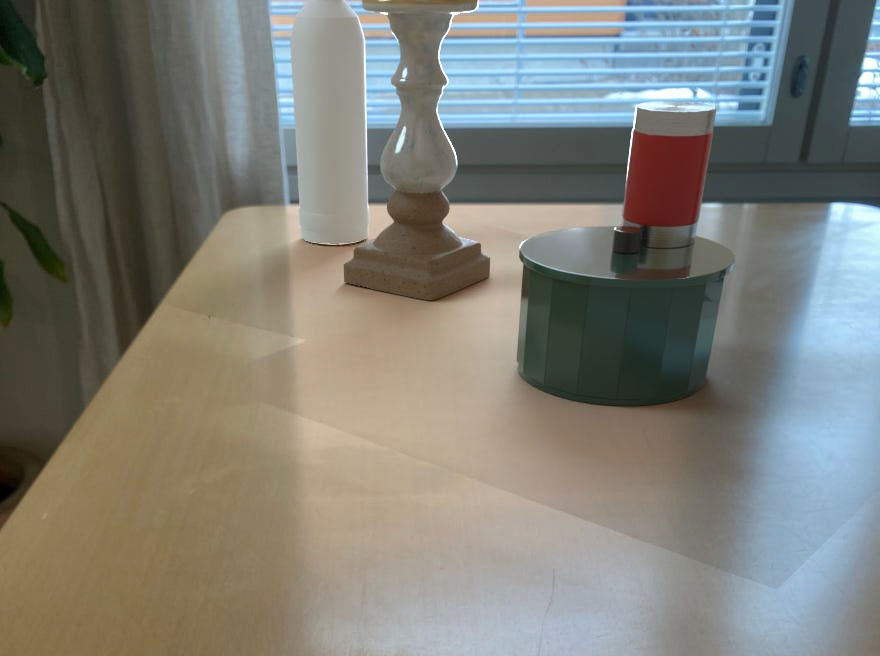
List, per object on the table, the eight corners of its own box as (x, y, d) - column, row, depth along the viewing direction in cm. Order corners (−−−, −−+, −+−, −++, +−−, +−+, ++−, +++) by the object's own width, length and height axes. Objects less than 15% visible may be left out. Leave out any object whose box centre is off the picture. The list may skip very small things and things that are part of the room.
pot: (581, 329, 86) (592, 226, 81) (737, 367, 78) (760, 256, 73) (481, 374, 77) (486, 261, 72) (646, 422, 69) (665, 299, 64)
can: (682, 229, 77) (702, 100, 72) (705, 247, 73) (729, 111, 67) (611, 231, 77) (626, 101, 72) (630, 249, 72) (647, 112, 67)
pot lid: (589, 232, 82) (593, 197, 80) (767, 264, 73) (776, 226, 72) (476, 270, 72) (478, 231, 70) (667, 312, 64) (673, 269, 62)
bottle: (382, 239, 112) (379, -87, 94) (323, 249, 108) (308, -88, 91) (345, 226, 117) (336, -85, 100) (288, 235, 113) (267, -86, 96)
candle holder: (404, 259, 105) (405, -8, 91) (492, 275, 99) (506, -5, 86) (341, 283, 97) (331, -4, 84) (432, 301, 92) (438, -1, 78)
